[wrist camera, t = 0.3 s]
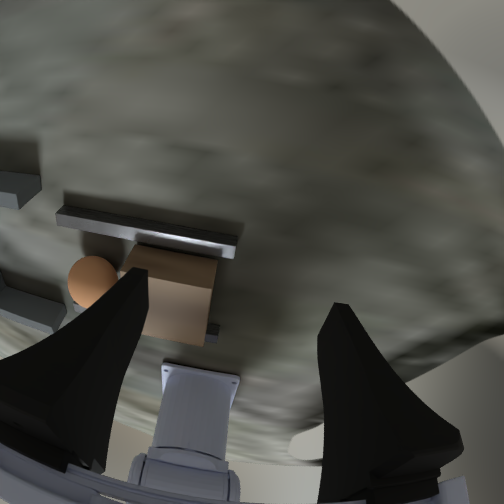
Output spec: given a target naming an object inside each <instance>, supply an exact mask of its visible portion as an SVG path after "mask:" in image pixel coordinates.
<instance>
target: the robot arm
mask: <svg viewBox="0 0 504 504" xmlns="http://www.w3.org/2000/svg"><path fill="white" fill-rule="evenodd" d="M148 310H149V289H148V270H146V269H141V268H137V267H132V268H131V269H130V270H129V271H128V272H126V273H125V274H124V275H123V276H122V277H121V278H120V279H119V280H118V281H117V282H116V283H115V284H114V285H113V286H112V287H111V288H110V289H109V290H108V291H107V292H105V293H104V294H103V295H102V296H101V297H100V298H99V299H98V300H97V301H96V302H94V303H93V304H92V305H91V306H90V307H88V308H87V309H86V310H85V311H84V312H82V313H81V314H80V315H79V316H77V317H76V318H75V319H74V320H72V321H71V322H69V323H68V324H67V325H65V326H64V327H62V328H61V329H59V330H58V331H56V332H55V333H53V334H52V335H50V336H48V337H47V338H45V339H43V340H42V341H40V342H38V343H36V344H35V345H33V346H31V347H29V348H27V349H25V350H23V351H21V352H19V353H16V354H14V355H12V356H9V357H7V358H4V359H2V360H0V498H1V499H3V500H4V501H6V502H8V503H9V504H123V503H120V502H117V501H114V500H111V499H109V498H106V497H103V496H101V495H100V494H102V495H105V496H108V497H112V498H115V499H118V500H122V501H126V504H262V503H245V502H240V480H239V478H238V476H237V475H236V474H235V472H234V471H233V470H228V464H229V462H227V461H225V453H226V443H227V432H228V422H229V412H230V408H231V406H232V403H233V400H234V397H235V394H236V391H237V388H238V385H239V382H240V377H239V376H237V375H231V374H225V373H219V372H213V371H207V370H202V369H196V368H191V367H186V366H181V365H176V364H171V363H166V362H165V363H162V366H161V368H162V388H163V397H162V402H161V406H160V410H159V415H158V419H157V424H156V428H155V433H154V437H153V443H152V447H149V449H148V454H145V453H140V454H139V455H137V456H135V457H134V459H133V461H132V465H131V468H130V471H129V476H128V481H127V482H124V481H120V480H117V479H114V478H111V477H107V476H104V475H101V474H102V473H103V472H105V468H106V459H107V452H108V445H109V439H110V433H111V428H112V423H113V418H114V414H115V409H116V405H117V400H118V396H119V392H120V389H121V385H122V382H123V379H124V376H125V373H126V371H127V368H128V366H129V363H130V361H131V358H132V356H133V353H134V351H135V348H136V346H137V343H138V341H139V338H140V336H141V333H142V331H143V328H144V324H145V321H146V317H147V314H148ZM317 355H318V367H319V375H320V382H321V390H322V398H323V407H324V447H323V462H322V473H321V481H320V488H319V495H318V500H317V504H470V502H469V497H468V491H467V486H466V481H465V477H464V476H460V477H457V478H453V479H449V480H446V481H443V482H440V483H438V481H437V477H439V476H440V475H441V472H440V468H441V467H443V466H444V465H446V464H447V463H449V462H451V461H452V460H454V459H455V458H457V457H458V456H459V455H461V454H462V452H463V450H464V446H463V443H462V439H461V435H460V431H459V430H458V429H457V428H455V427H454V426H453V425H451V424H450V423H448V422H447V421H446V420H444V419H443V418H441V417H440V416H439V415H438V414H437V413H435V412H434V411H433V410H432V409H431V408H429V407H428V406H427V405H426V404H425V403H424V402H422V400H421V399H420V398H418V397H417V395H415V394H414V393H413V392H412V391H411V390H410V389H409V387H408V386H407V385H406V384H405V383H404V382H403V381H402V380H401V378H400V377H399V376H398V375H397V374H396V373H395V371H394V370H393V369H392V368H391V366H390V365H389V364H388V362H387V361H386V360H385V358H384V357H383V356H382V354H381V353H380V351H379V350H378V349H377V347H376V346H375V344H374V343H373V341H372V340H371V338H370V337H369V335H368V334H367V332H366V331H365V329H364V327H363V326H362V324H361V323H360V321H359V320H358V318H357V317H356V315H355V313H354V312H353V310H352V309H351V307H350V306H349V304H342V303H335V302H334V304H333V306H332V308H331V310H330V312H329V314H328V316H327V318H326V320H325V322H324V324H323V326H322V328H321V330H320V332H319V334H318V336H317Z"/></svg>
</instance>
